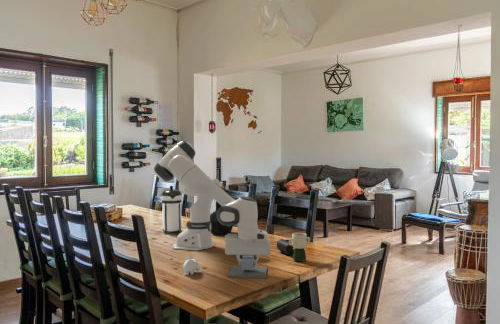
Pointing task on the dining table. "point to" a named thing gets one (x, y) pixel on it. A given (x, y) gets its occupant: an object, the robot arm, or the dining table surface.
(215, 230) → the bottle
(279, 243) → the end cap
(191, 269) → the elephant figurine
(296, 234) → the character mug
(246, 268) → the slate cube
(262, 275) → the charcoal mat
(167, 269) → the dining table surface
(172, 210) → the coffee press
